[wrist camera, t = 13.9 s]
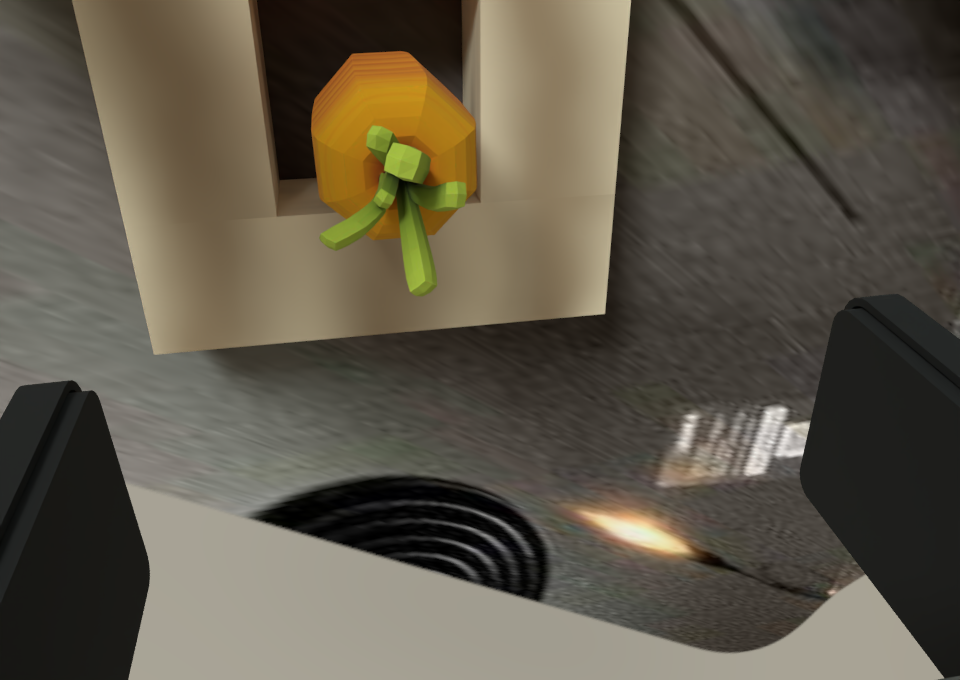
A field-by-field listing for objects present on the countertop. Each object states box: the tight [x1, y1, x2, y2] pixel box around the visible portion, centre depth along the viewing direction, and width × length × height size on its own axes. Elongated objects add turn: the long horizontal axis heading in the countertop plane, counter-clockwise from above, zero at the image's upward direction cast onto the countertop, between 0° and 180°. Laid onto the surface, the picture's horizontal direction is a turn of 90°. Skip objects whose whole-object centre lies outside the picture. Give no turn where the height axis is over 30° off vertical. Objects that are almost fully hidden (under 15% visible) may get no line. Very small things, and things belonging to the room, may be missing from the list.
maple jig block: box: [72, 0, 631, 355], centre depth 31 cm, size 18×18×4 cm
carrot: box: [311, 51, 477, 297], centre depth 26 cm, size 5×5×15 cm
